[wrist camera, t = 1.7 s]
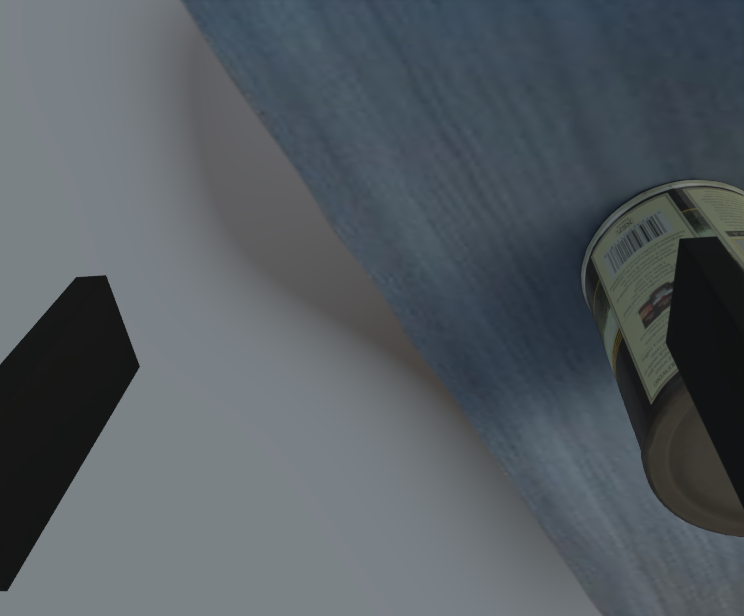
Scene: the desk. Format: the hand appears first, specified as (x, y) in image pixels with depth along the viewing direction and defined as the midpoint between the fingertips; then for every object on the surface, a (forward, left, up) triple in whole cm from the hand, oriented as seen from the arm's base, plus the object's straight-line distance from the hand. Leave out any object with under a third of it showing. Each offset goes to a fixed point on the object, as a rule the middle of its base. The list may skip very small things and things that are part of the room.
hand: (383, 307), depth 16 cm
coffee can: (0, +18, -21) cm, 27 cm away
